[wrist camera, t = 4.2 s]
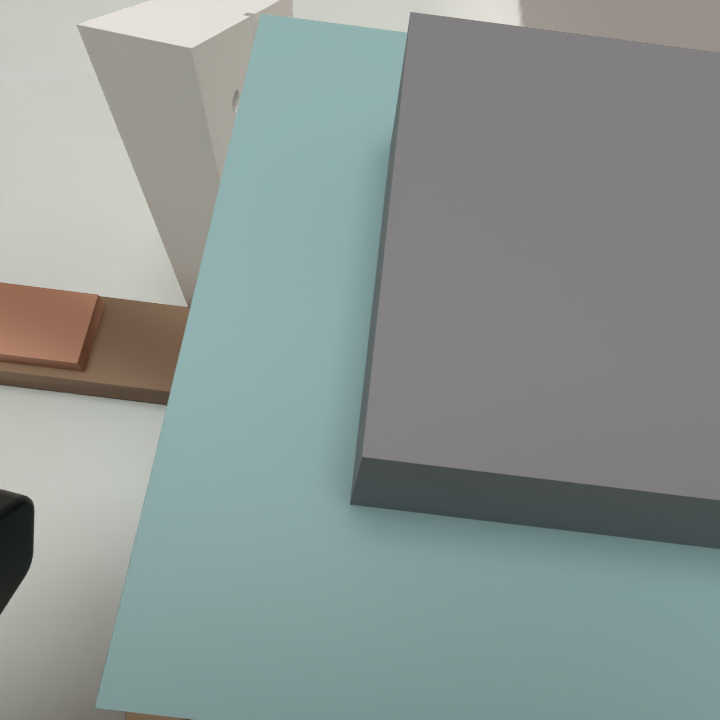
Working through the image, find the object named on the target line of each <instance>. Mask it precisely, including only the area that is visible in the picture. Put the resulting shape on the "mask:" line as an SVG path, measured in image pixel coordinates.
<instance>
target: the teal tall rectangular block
mask: <svg viewBox="0 0 720 720" xmlns="http://www.w3.org/2000/svg"><path fill="white" fill-rule="evenodd" d="M95 708H99V709H108V710H117V711H125V712H134V713H143V714H151V715H160V716H169V717H177V718H186V719H195V720H720V53H718V52H710V51H703V50H695V49H687V48H680V47H672V46H664V45H657V44H649V43H642V42H634V41H627V40H619V39H611V38H604V37H596V36H588V35H581V34H573V33H566V32H558V31H550V30H543V29H534V28H528V27H520V26H512V25H505V24H497V23H490V22H482V21H474V20H467V19H459V18H452V17H444V16H436V15H429V14H421V13H414V12H410V19H409V26H408V32H407V33H405V32H397V31H389V30H382V29H374V28H366V27H359V26H351V25H343V24H336V23H328V22H321V21H313V20H305V19H298V18H290V17H282V16H275V15H267V14H260V18H259V23H258V27H257V31H256V35H255V39H254V43H253V48H252V52H251V56H250V60H249V64H248V69H247V73H246V77H245V81H244V85H243V90H242V94H241V98H240V102H239V106H238V110H237V115H236V119H235V123H234V127H233V131H232V136H231V140H230V144H229V148H228V152H227V157H226V161H225V165H224V169H223V173H222V177H221V182H220V186H219V190H218V194H217V198H216V203H215V207H214V211H213V215H212V219H211V224H210V228H209V232H208V236H207V240H206V245H205V249H204V253H203V257H202V261H201V265H200V270H199V274H198V278H197V282H196V286H195V291H194V295H193V299H192V303H191V307H190V312H189V316H188V320H187V324H186V328H185V332H184V337H183V341H182V345H181V349H180V353H179V358H178V362H177V366H176V370H175V374H174V379H173V383H172V387H171V391H170V395H169V399H168V404H167V408H166V412H165V416H164V420H163V425H162V429H161V433H160V437H159V441H158V446H157V450H156V454H155V458H154V462H153V467H152V471H151V475H150V479H149V483H148V487H147V492H146V496H145V500H144V504H143V508H142V513H141V517H140V521H139V525H138V529H137V534H136V538H135V542H134V546H133V550H132V554H131V559H130V563H129V567H128V571H127V575H126V580H125V584H124V588H123V592H122V596H121V601H120V605H119V609H118V613H117V617H116V621H115V626H114V630H113V634H112V638H111V642H110V647H109V651H108V655H107V659H106V663H105V668H104V672H103V676H102V680H101V684H100V689H99V693H98V697H97V701H96V705H95Z"/></svg>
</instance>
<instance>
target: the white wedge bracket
mask: <svg viewBox="0 0 720 720" xmlns="http://www.w3.org/2000/svg"><path fill="white" fill-rule="evenodd" d="M260 14H267V15H275V16H282V17H290V18H293V5H292V0H149V1H146V2H143V3H140V4H137V5H134V6H131V7H128V8H125V9H122V10H119V11H116V12H113V13H110V14H107V15H104V16H101V17H98V18H95V19H91V20H88V21H85V22H82V23H79V24H77V27H78V29H79V32H80V34H81V37H82V39H83V42H84V44H85V47H86V50H87V52H88V55H89V57H90V60H91V62H92V65H93V67H94V70H95V72H96V75H97V77H98V80H99V82H100V85H101V87H102V90H103V92H104V95H105V98H106V100H107V103H108V105H109V108H110V110H111V113H112V115H113V118H114V120H115V123H116V125H117V128H118V130H119V133H120V135H121V138H122V140H123V143H124V145H125V148H126V151H127V153H128V156H129V158H130V161H131V163H132V166H133V168H134V171H135V173H136V176H137V178H138V181H139V183H140V186H141V188H142V191H143V193H144V196H145V199H146V201H147V204H148V206H149V209H150V211H151V214H152V216H153V219H154V221H155V224H156V226H157V229H158V231H159V234H160V236H161V239H162V241H163V244H164V246H165V249H166V252H167V254H168V257H169V259H170V262H171V264H172V267H173V269H174V272H175V274H176V277H177V279H178V282H179V284H180V287H181V289H182V292H183V294H184V297H185V300H186V302H187V305H188V307H189V308H190V307H191V303H192V299H193V295H194V291H195V286H196V282H197V278H198V274H199V270H200V265H201V261H202V257H203V253H204V249H205V245H206V240H207V236H208V232H209V228H210V224H211V219H212V215H213V211H214V207H215V203H216V198H217V194H218V190H219V186H220V182H221V177H222V173H223V169H224V165H225V161H226V157H227V152H228V148H229V144H230V140H231V136H232V131H233V127H234V123H235V119H236V115H237V110H238V106H239V102H240V98H241V94H242V90H243V85H244V81H245V77H246V73H247V69H248V64H249V60H250V56H251V52H252V48H253V43H254V39H255V35H256V31H257V27H258V23H259V18H260Z"/></svg>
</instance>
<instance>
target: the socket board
mask: <svg viewBox="0 0 720 720" xmlns="http://www.w3.org/2000/svg"><path fill="white" fill-rule="evenodd" d="M189 312H190V308H189V307H181V306H173V305H165V304H157V303H149V302H141V301H133V300H125V299H117V298H109V297H101V296H99V295H96V294H88V293H80V292H72V291H64V290H56V289H48V288H40V287H32V286H24V285H16V284H8V283H0V384H1V385H9V386H18V387H26V388H34V389H42V390H50V391H58V392H67V393H75V394H83V395H91V396H99V397H108V398H116V399H124V400H132V401H140V402H148V403H157V404H165V405H167V404H168V399H169V395H170V391H171V387H172V383H173V379H174V374H175V370H176V366H177V362H178V358H179V353H180V349H181V345H182V341H183V337H184V332H185V328H186V324H187V320H188V316H189ZM125 720H190V719H186V718H177V717H169V716H160V715H151V714H143V713H134V712H126V715H125Z"/></svg>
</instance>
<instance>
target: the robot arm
mask: <svg viewBox="0 0 720 720" xmlns="http://www.w3.org/2000/svg"><path fill="white" fill-rule="evenodd" d="M33 544H34V504H33V501H32V500H31V499H30V498H29V497H27V496H24V495H21V494H17V493H13V492H10V491H6V490H2V489H0V614H1V613H2V611H3V610H4V608H5V607H6V605H7V604H8V602H9V601H10V599H11V597H12V596H13V594H14V593H15V591H16V590H17V588H18V587H19V585H20V584H21V582H22V580H23V579H24V577H25V576H26V574H27V572H28V570H29V568H30V565H31V562H32V558H33Z"/></svg>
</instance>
